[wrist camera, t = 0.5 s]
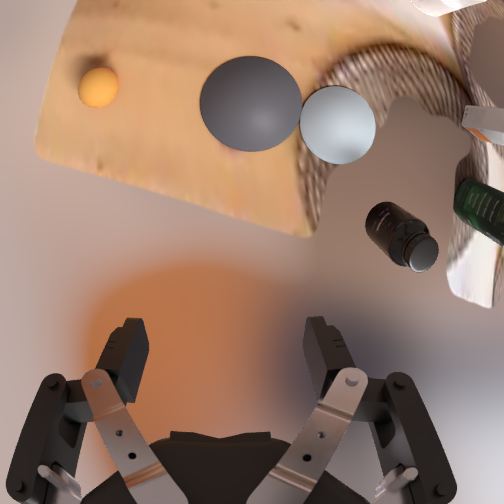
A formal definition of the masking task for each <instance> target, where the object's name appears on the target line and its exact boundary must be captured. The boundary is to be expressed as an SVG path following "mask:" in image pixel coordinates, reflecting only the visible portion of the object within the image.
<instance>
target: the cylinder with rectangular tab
mask: <svg viewBox="0 0 504 504" xmlns="http://www.w3.org/2000/svg"><path fill="white" fill-rule="evenodd" d="M410 1H411V2H412V3H413V4H414V5H415V6H416V7H417V8H418V9H419V10H421V11H422V12H423V13H425V14H427V15H430V16H434V17H436V16H441V15H444V14H447V13H449V12H452V11H456V10H459V9H461V8H464V7H467V6H471V5H474V4H478V3H481V2H485V1H487V0H410Z"/></svg>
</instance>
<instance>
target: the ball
mask: <svg viewBox="0 0 504 504" xmlns="http://www.w3.org/2000/svg"><path fill="white" fill-rule="evenodd" d="M118 87H119V82H118V78H117V76H116V74H115V73H114V72H113V71H112V70H110V69H107V68H95V69H93V70H91V71H89V72H88V73H86V74H85V75H84V76H83V78H82V79H81V81H80V83H79V87H78V95H79V98H80V100H81V101H82V102H83V103H84V104H85V105H86V106H89V107H92V108H98V107H102V106H104V105H106V104H108V103H109V102H111V101H112V100H113V98H114V97H115V95H116V94H117V91H118Z"/></svg>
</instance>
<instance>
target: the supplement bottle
mask: <svg viewBox="0 0 504 504" xmlns="http://www.w3.org/2000/svg"><path fill="white" fill-rule="evenodd" d="M365 227H366V232H367V234H368V236H369V237H370V239H371V240H372V241H373V242H374V243H375V244H376V245H377V246H378V247H379V248H380V249H381V250H382V251H383V252H384V253H385V254H386V255H387V256H388V257H389V258H390V259H391V260H392V261H393V262H394V263H395V264H397V265H399V266H404V267H407V266H408V267H410V268H411V269H412V270H413V271H415V272H419V273H420V272H423V271H426V270H428V269H429V268H430V267H431V266H432V265H433V264H434V263H435V261H436V259H437V256H438V251H439V249H438V243H437V242H436V240H434V238H432V237H431V236H430V232H429V229H428V227H427V226H426V224H425V223H424V222H422V221H421V220H420V219H418V218H416V217H415V216H414V215H412V214H411V213H409V212H407V211H406V210H404V209H402V208H401V207H400V206H398V205H396V204H394V203H392V202H382V203H379V204H377V205H376V206H374V207H373V208H372V209H371V210H370V212H369V214H368V216H367V218H366V225H365Z"/></svg>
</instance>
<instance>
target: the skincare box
mask: <svg viewBox="0 0 504 504" xmlns="http://www.w3.org/2000/svg"><path fill="white" fill-rule="evenodd" d="M461 125H462V126H463V127H465V128H466V129H467V130H468V131H470V132H471V133H472V134H473V135H474V136H475V137H477V138H478V139H479V140H481V141H486V142H490V143H494V144H498V145H502V146H504V109H500V108H492V107H482V106H470V105H466V106H465V111H464V115H463V119H462V123H461Z"/></svg>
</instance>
